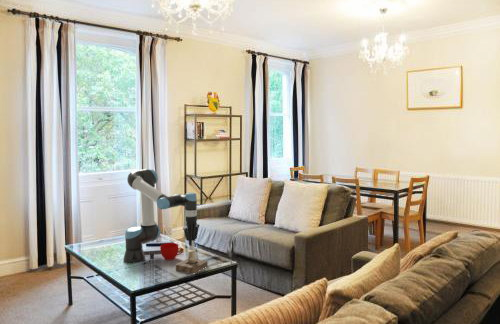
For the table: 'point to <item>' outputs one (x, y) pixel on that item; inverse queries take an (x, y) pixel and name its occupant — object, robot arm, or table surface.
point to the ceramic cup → (169, 250)
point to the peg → (191, 257)
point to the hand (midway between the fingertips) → (191, 249)
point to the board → (191, 266)
